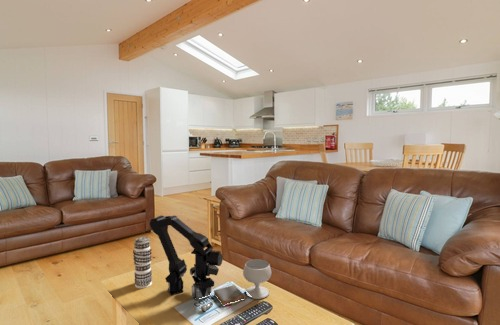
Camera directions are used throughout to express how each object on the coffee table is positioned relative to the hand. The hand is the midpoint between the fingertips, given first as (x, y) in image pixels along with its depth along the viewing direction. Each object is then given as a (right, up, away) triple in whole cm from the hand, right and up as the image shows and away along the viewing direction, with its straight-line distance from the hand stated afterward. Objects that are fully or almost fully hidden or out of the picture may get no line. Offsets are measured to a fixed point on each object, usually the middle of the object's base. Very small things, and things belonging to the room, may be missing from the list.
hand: (201, 293), depth 142 cm
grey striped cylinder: (-33, 0, +12) cm, 35 cm away
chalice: (+27, -1, +3) cm, 27 cm away
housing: (0, -1, 0) cm, 1 cm away
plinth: (+13, -1, -1) cm, 14 cm away
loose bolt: (+4, -2, -10) cm, 11 cm away
